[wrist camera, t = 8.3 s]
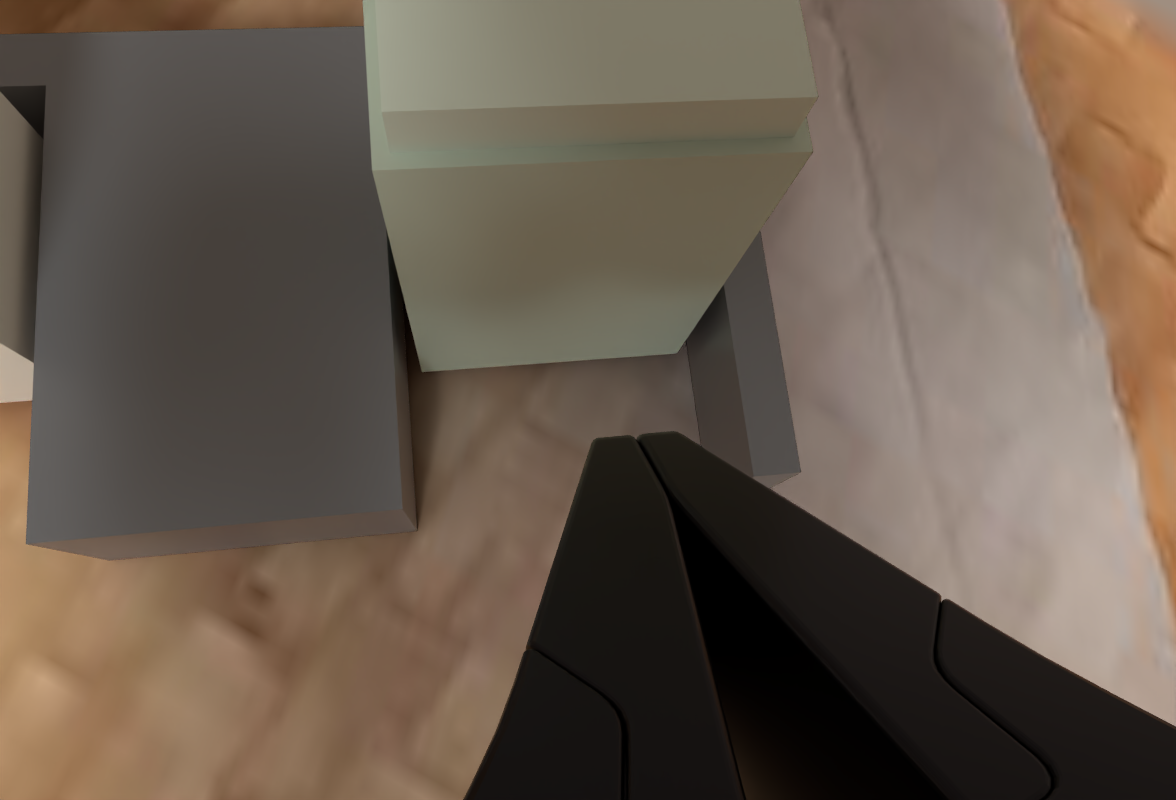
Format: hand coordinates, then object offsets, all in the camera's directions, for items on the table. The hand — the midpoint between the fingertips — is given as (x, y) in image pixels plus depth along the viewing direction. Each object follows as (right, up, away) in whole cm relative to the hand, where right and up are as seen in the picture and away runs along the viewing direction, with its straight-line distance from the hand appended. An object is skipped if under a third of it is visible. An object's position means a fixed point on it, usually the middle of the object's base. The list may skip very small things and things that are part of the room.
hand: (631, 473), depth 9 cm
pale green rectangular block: (-1, +3, +9) cm, 10 cm away
